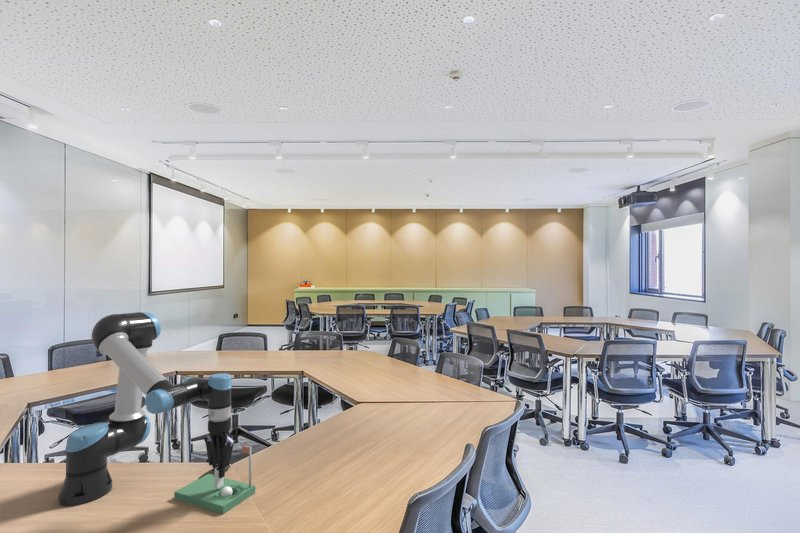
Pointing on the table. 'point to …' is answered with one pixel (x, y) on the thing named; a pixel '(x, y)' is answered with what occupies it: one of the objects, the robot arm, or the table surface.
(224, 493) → the ball
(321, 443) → the table surface
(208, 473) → the stone
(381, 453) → the table surface
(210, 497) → the green
